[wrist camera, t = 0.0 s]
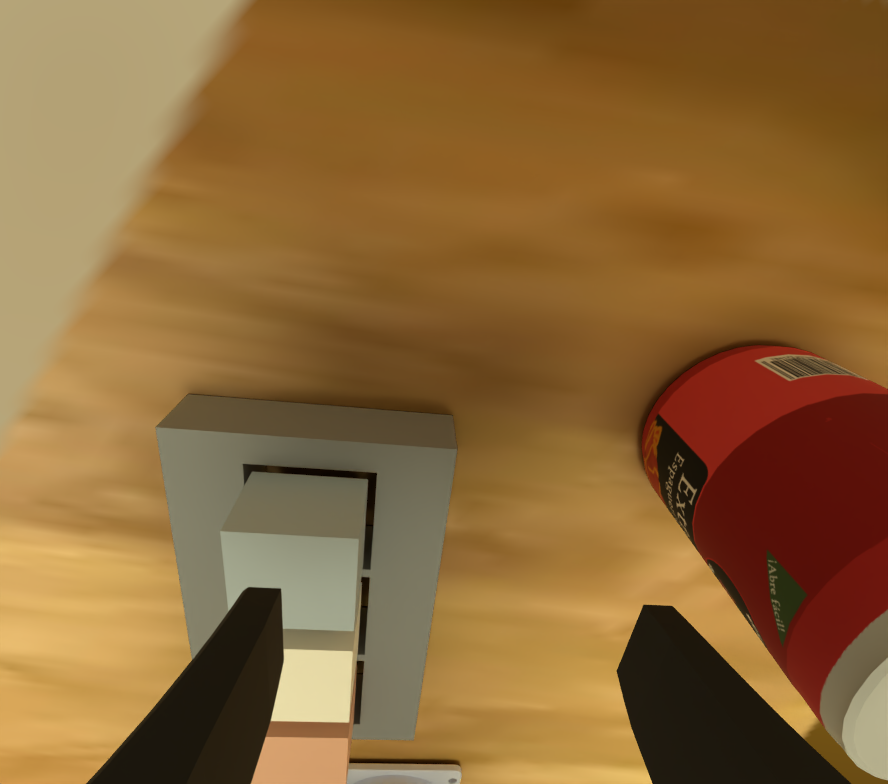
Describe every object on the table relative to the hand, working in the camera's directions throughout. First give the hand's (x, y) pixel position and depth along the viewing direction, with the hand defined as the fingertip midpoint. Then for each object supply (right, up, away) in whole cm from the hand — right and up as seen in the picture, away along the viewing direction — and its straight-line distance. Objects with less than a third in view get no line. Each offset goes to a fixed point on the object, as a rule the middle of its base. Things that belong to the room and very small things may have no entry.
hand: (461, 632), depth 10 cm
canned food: (+11, +4, +10) cm, 16 cm away
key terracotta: (-6, -9, +12) cm, 17 cm away
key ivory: (-6, -4, +10) cm, 13 cm away
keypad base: (-6, -3, +12) cm, 14 cm away
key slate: (-5, 0, +8) cm, 10 cm away
